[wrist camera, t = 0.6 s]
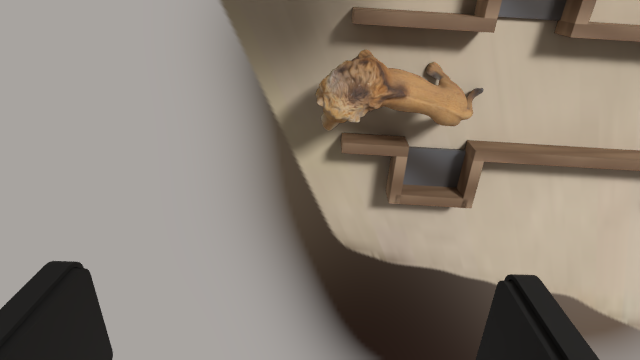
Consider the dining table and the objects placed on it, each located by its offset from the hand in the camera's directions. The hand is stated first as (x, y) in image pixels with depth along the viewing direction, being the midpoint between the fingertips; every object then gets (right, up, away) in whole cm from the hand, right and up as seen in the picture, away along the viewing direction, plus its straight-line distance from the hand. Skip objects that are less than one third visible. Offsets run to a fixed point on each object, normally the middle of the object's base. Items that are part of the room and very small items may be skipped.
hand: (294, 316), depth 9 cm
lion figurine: (+7, +12, +26) cm, 30 cm away
